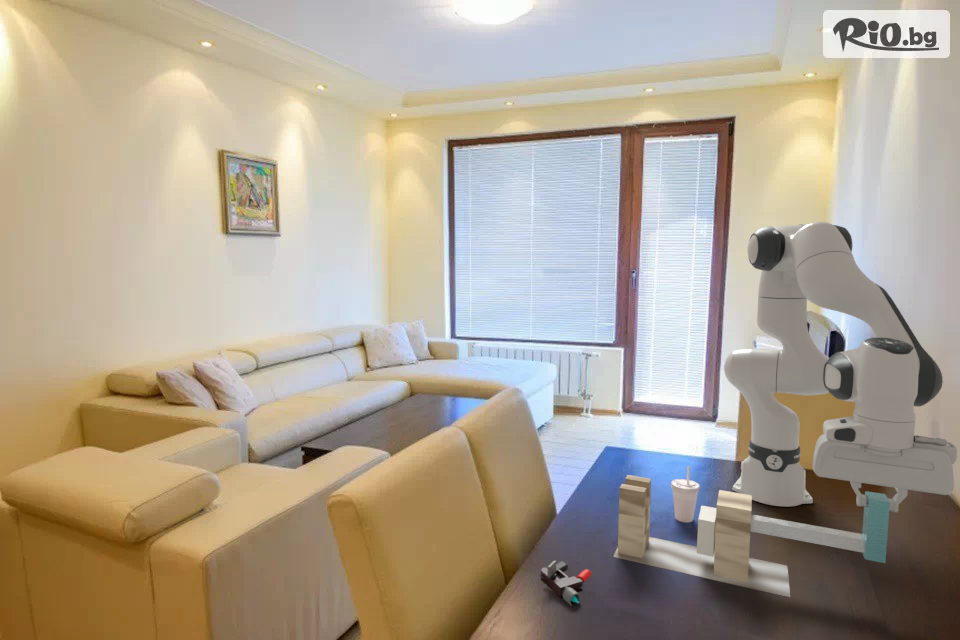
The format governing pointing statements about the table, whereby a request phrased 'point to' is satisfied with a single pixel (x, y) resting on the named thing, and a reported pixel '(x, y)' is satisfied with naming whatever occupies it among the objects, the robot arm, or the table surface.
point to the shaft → (867, 542)
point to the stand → (728, 553)
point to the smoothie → (684, 498)
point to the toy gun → (564, 581)
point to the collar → (706, 531)
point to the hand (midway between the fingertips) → (876, 508)
